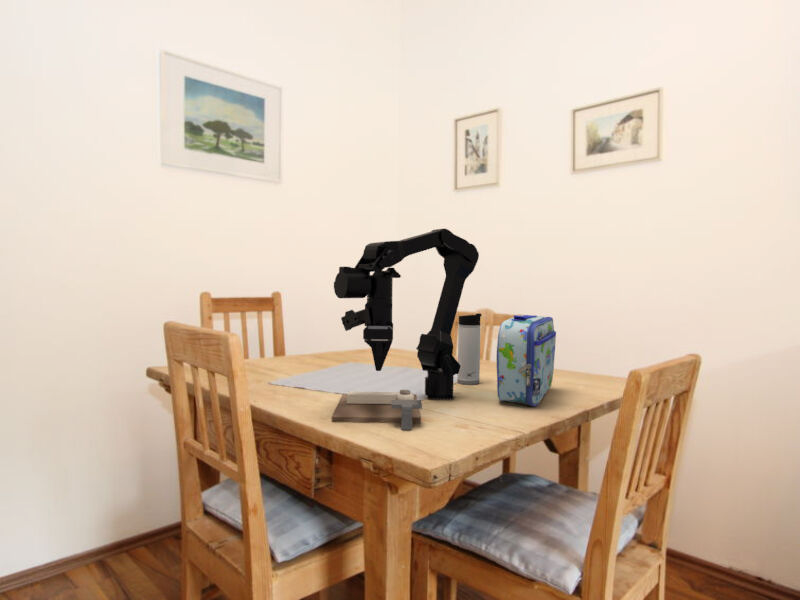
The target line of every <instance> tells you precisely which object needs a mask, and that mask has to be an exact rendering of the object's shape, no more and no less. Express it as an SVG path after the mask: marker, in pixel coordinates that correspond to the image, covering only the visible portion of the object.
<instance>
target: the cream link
mask: <svg viewBox="0 0 800 600" xmlns="http://www.w3.org/2000/svg"><path fill="white" fill-rule="evenodd" d="M346 394H347V403H351V404H392V400H414V395H415V393H414V392H412V391H410V394H408V395H403V394H400V391H399V392H396V391H347V393H346Z"/></svg>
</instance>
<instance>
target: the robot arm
mask: <svg viewBox="0 0 800 600" xmlns="http://www.w3.org/2000/svg"><path fill="white" fill-rule="evenodd" d="M434 248H435V250H436V251H437V253H438V255H439V256H440V257H442V258H443V268H444V272H445V278H444V282H443V285H442V289H441V292H440V297H439V300H438V303H437V307H436V312H435V315H434V318H433V321H432V325H431V329H430V330H429V332H427V333H421V334H420V336H419V342H418V345H417V346H416V350H417V353H416V356H417V358H418V360H419V363H420V365H421V370H422V371H424V372H425V371H426V373H427V375H426V376H425V377H424V395H425V396H426V398H427V400H455V395H454V376H455V375H458V373H459V370H460V364H459V363H458V359H456V358H455V357H454V355H453V353H454V352H453V351H454V342H453V338H452V335H451V334H452V331H453V327H454V324H455V319H456V316H457V312H458V308H459V305H460V300H461V297H462V294H463V288H464V285H465V282H466V280H467V279H468V277H469V276H470V275H471V274H472V273H473V272H474V271H475V269H476V268H475V267H476V265H477V264H478V260H479V257H480V255H479V251H478V249H477V247H476V245H474V244H473V243H470V242H469V241H468V240H466V239H464V238H462V237H460V236H459V235H456V234H454V233H453V232H452V231H450V230H449V229H447V228H437V229H432V230H431V231H428V232H425V233H421V234H418V235H415V236H411V237H407V238H403V239H400V240H389V241H379V242H378V241H377V242H370V243H368V244H366V245H365V247H364V249H363V253H362V256H361V257H360V259H359V260H358V261H357V263H356V265H355V266H354V267H351V266H339V267H338V269H339V270H338V271H339V272H338V273H337V274H336V276H335V279H334V281H333V290H334V294H335V296H336V297H337V298H338V299H364V298H366V303H365V304H364V309H363V308H362V309H361V310H358V311H355V310H353V309H350V310H347V311H345V312H344V316H341V317H340V319H341V323H342V325H343V328H344V330H345V332H347V331H350V330H352V329H354V328H356V327H360V326H361V325H364V327H365V328H363V330H362V331H363V334H362V335H363V336H362V337H363V338H362V339H363V341H364V343H366V345H368V346H369V347H370V348H371V353H372V359H373V363H374V368H375V371H376V372H380V371H382V369H383V366H384V364H385V361H386V358H387V356H388V354H389V351H390V349H391V345H392V344H393V339H394V323H393V286H394V285H393V284H394V283H393V282H394V281H393V280H394V279H400V278H401V277H402V275H401V274H400V273H399V272H398V271H397V270H396V269H395V267H393V266H396V265H397V264H399V263H400V262H402V261H403V260H405V258H407V257H408V256H411V255H414V254H418V253H422V252H424V251H428V250H430V249H434ZM384 269H386V270H384ZM371 272H372V274H371Z"/></svg>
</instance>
